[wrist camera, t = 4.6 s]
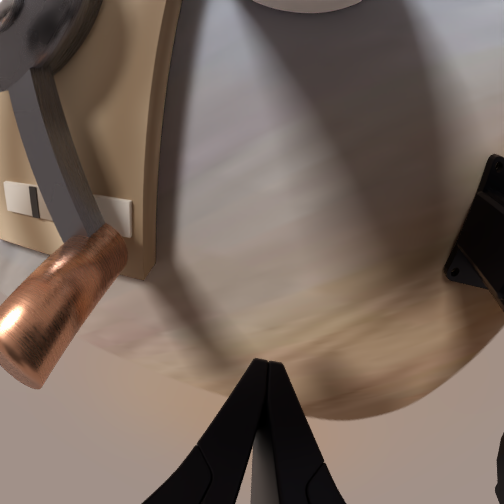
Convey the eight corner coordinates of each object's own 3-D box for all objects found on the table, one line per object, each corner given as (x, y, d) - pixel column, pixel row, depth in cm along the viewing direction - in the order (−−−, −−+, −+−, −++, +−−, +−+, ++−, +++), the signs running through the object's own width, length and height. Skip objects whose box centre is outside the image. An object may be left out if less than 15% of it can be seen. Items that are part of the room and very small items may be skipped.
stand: (202, -73, 6) (190, -91, 5) (155, 262, 14) (141, 284, 13) (-1, -16, 6) (-21, -17, 5) (-8, 220, 14) (-25, 233, 13)
